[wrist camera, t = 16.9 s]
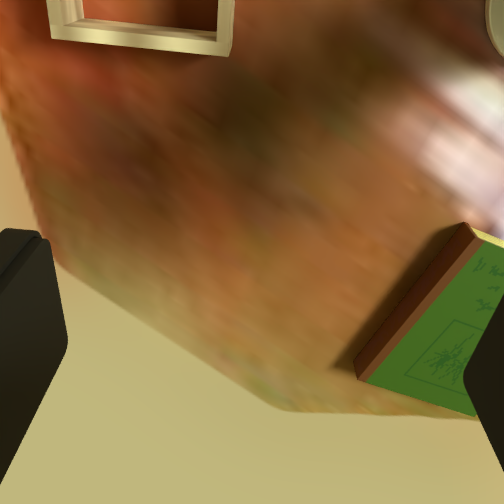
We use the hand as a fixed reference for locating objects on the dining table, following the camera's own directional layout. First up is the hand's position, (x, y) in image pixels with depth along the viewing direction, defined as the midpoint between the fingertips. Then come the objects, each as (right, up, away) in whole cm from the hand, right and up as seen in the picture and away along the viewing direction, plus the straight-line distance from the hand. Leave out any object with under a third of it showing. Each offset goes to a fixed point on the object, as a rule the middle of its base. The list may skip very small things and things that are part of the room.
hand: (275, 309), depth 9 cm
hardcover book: (+27, -8, +49) cm, 56 cm away
